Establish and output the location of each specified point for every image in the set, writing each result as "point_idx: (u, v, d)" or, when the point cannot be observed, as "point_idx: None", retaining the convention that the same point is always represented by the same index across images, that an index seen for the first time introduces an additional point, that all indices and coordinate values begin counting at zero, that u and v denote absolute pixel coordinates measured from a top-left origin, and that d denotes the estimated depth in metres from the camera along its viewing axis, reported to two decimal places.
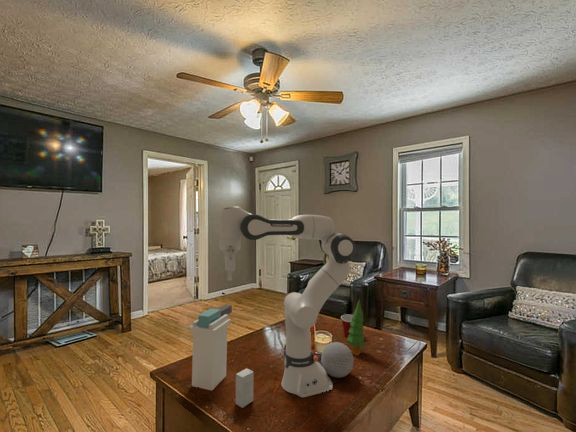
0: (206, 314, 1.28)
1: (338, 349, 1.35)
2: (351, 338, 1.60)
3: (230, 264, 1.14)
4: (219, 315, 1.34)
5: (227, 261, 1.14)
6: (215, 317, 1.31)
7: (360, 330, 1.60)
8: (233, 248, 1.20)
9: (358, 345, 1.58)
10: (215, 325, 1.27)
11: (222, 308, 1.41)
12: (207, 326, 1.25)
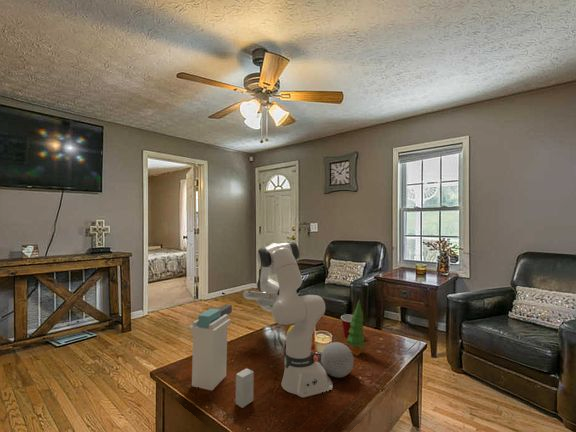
0: (206, 314, 1.28)
1: (338, 349, 1.35)
2: (351, 338, 1.60)
3: None
4: (219, 315, 1.34)
5: None
6: (215, 317, 1.31)
7: (360, 330, 1.60)
8: None
9: (358, 345, 1.58)
10: (215, 325, 1.27)
11: (222, 308, 1.41)
12: (207, 326, 1.25)
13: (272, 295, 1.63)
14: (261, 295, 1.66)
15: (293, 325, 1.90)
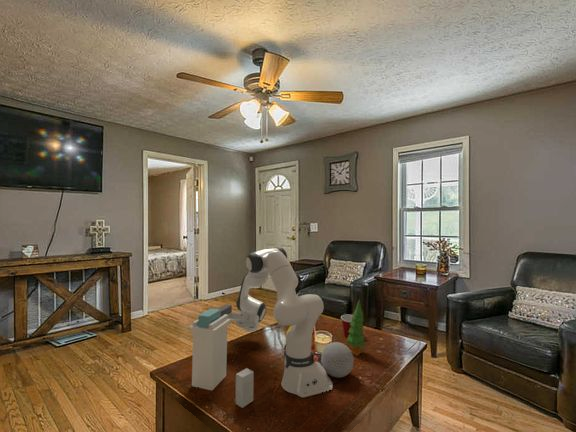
0: (206, 314, 1.28)
1: (338, 349, 1.35)
2: (351, 338, 1.60)
3: None
4: (219, 315, 1.34)
5: None
6: (215, 317, 1.31)
7: (360, 330, 1.60)
8: None
9: (358, 345, 1.58)
10: (215, 325, 1.27)
11: (222, 308, 1.41)
12: (207, 326, 1.25)
13: (251, 316, 1.54)
14: (239, 316, 1.56)
15: None
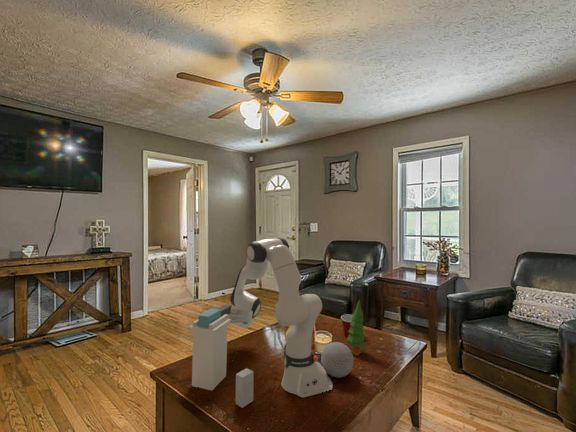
0: (206, 314, 1.28)
1: (338, 349, 1.35)
2: (351, 338, 1.60)
3: None
4: (219, 315, 1.34)
5: None
6: (215, 317, 1.31)
7: (360, 330, 1.60)
8: None
9: (358, 345, 1.58)
10: (215, 325, 1.27)
11: (222, 308, 1.41)
12: (207, 326, 1.25)
13: (244, 311, 1.46)
14: (232, 311, 1.49)
15: None
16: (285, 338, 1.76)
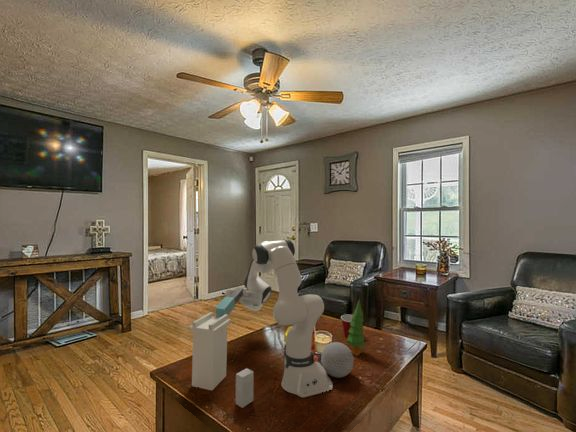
0: (221, 306, 1.41)
1: (338, 349, 1.35)
2: (351, 338, 1.60)
3: None
4: (233, 303, 1.47)
5: None
6: (230, 306, 1.44)
7: (360, 330, 1.60)
8: None
9: (358, 345, 1.58)
10: (215, 325, 1.27)
11: (235, 293, 1.54)
12: None
13: (255, 294, 1.59)
14: None
15: (291, 326, 1.88)
16: (284, 339, 1.75)
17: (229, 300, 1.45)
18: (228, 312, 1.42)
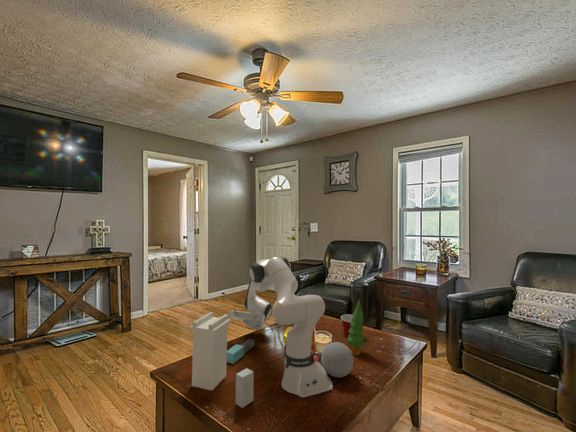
0: (231, 351, 1.50)
1: (338, 349, 1.35)
2: (351, 338, 1.60)
3: None
4: (243, 351, 1.55)
5: None
6: (239, 353, 1.52)
7: (360, 330, 1.60)
8: None
9: (358, 345, 1.58)
10: (215, 325, 1.27)
11: (246, 343, 1.63)
12: (232, 362, 1.47)
13: (258, 315, 1.63)
14: (247, 315, 1.66)
15: None
16: (283, 339, 1.75)
17: (239, 347, 1.54)
18: (236, 358, 1.50)
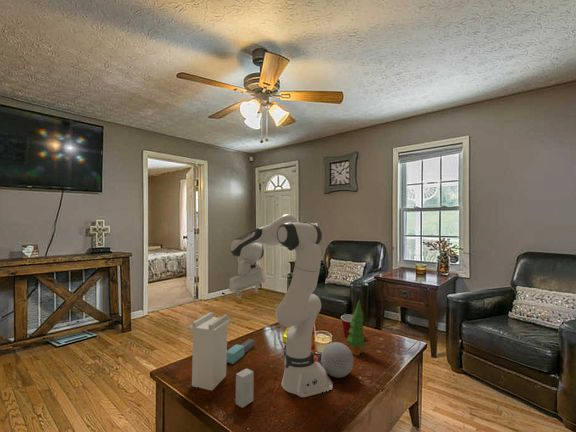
0: (231, 351, 1.50)
1: (338, 349, 1.35)
2: (351, 338, 1.60)
3: None
4: (243, 351, 1.55)
5: None
6: (239, 353, 1.52)
7: (360, 330, 1.60)
8: None
9: (358, 345, 1.58)
10: (215, 325, 1.27)
11: (246, 343, 1.63)
12: (232, 362, 1.47)
13: (259, 281, 1.54)
14: None
15: (289, 327, 1.87)
16: None
17: (239, 347, 1.54)
18: (236, 358, 1.50)
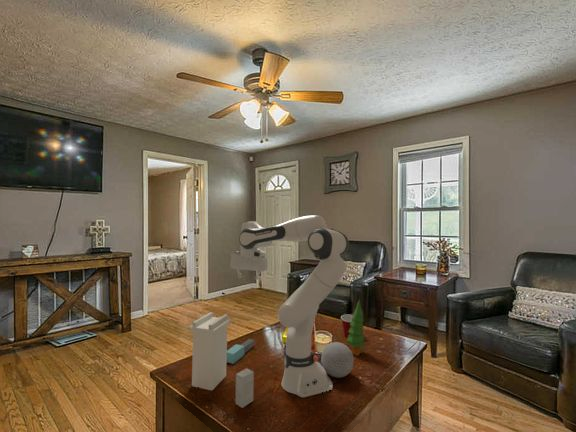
0: (231, 351, 1.50)
1: (338, 349, 1.35)
2: (351, 338, 1.60)
3: None
4: (243, 351, 1.55)
5: None
6: (239, 353, 1.52)
7: (360, 330, 1.60)
8: None
9: (358, 345, 1.58)
10: (215, 325, 1.27)
11: (246, 343, 1.63)
12: (232, 362, 1.47)
13: None
14: None
15: None
16: (282, 340, 1.74)
17: (239, 347, 1.54)
18: (236, 358, 1.50)
